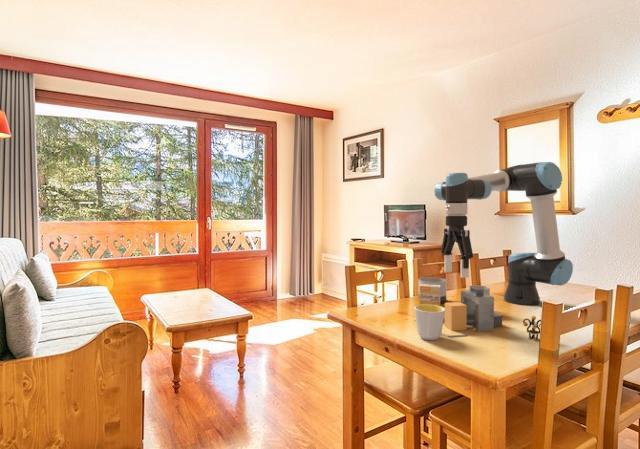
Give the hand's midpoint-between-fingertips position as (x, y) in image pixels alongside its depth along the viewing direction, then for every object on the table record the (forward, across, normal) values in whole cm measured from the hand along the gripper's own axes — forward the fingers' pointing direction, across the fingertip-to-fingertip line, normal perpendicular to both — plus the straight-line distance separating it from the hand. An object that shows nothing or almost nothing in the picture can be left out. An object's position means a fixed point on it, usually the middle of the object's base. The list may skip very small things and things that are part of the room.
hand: (456, 274), depth 141 cm
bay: (+20, 0, -4) cm, 20 cm away
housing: (+20, 0, +8) cm, 22 cm away
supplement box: (+20, -16, -2) cm, 26 cm away
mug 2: (+20, -18, +22) cm, 35 cm away
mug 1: (+20, +7, -13) cm, 25 cm away
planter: (+20, -40, +10) cm, 46 cm away
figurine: (+20, +16, +19) cm, 32 cm away
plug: (+20, 0, +7) cm, 21 cm away
